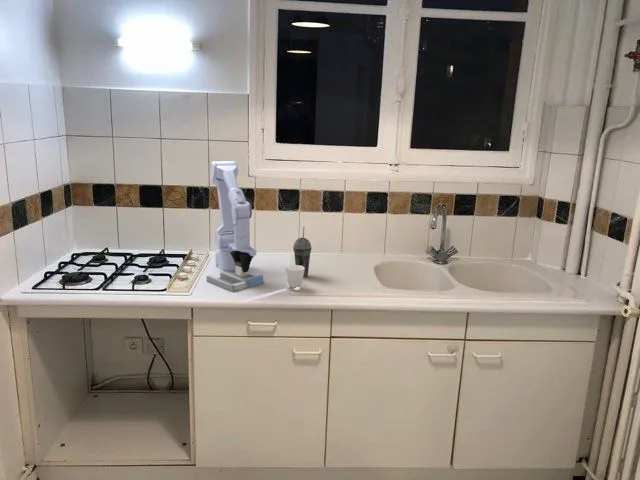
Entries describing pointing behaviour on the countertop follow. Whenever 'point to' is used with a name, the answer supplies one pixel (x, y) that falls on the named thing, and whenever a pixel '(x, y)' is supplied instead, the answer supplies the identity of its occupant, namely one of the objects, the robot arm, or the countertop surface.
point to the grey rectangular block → (240, 269)
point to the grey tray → (235, 281)
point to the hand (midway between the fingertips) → (242, 270)
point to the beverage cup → (302, 253)
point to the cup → (294, 275)
